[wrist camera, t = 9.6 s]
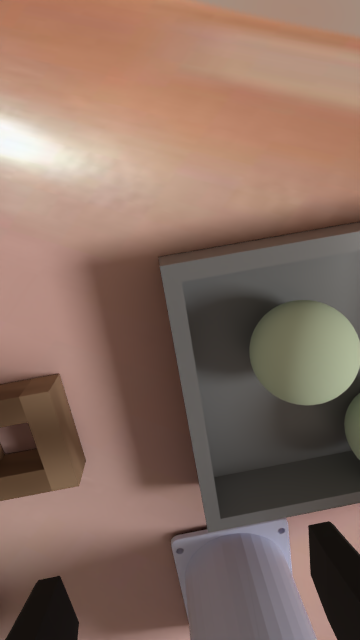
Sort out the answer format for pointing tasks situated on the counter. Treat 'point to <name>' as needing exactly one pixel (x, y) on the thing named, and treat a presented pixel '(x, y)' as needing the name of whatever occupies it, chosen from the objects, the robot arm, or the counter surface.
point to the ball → (353, 425)
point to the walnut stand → (40, 439)
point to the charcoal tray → (244, 387)
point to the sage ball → (305, 352)
